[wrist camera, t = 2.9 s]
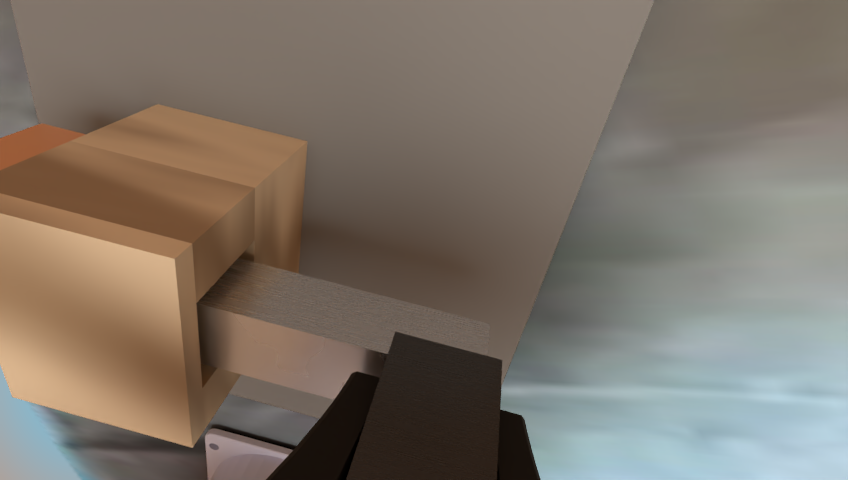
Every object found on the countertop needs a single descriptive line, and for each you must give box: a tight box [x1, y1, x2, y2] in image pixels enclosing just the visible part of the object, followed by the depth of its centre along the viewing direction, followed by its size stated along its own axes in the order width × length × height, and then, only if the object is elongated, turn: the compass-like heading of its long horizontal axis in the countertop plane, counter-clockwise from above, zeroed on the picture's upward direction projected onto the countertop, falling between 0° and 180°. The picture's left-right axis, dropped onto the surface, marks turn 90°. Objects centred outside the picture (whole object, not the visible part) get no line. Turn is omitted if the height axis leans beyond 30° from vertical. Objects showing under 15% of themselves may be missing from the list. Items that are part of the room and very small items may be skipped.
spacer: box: [0, 123, 86, 170], centre depth 14 cm, size 5×2×5 cm, turn 169°
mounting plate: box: [10, 0, 654, 419], centre depth 18 cm, size 20×18×1 cm
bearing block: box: [0, 104, 307, 448], centre depth 14 cm, size 6×5×7 cm
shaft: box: [196, 258, 502, 480], centre depth 11 cm, size 3×15×6 cm, turn 79°
